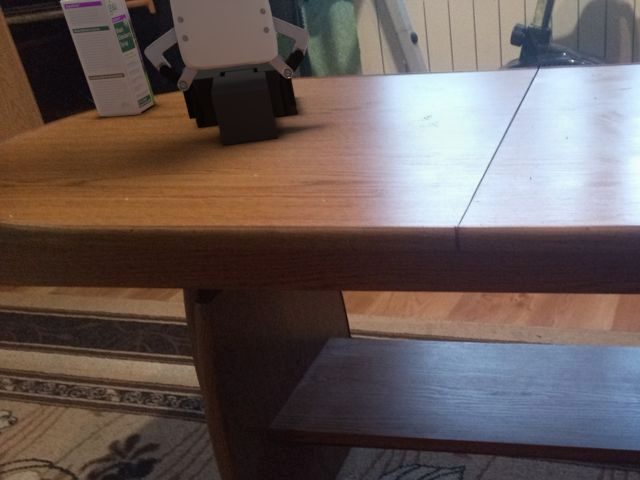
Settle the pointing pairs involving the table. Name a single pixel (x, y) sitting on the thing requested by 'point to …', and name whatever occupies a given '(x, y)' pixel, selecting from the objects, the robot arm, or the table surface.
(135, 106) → the syrup box
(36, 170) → the table surface
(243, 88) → the block
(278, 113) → the block
